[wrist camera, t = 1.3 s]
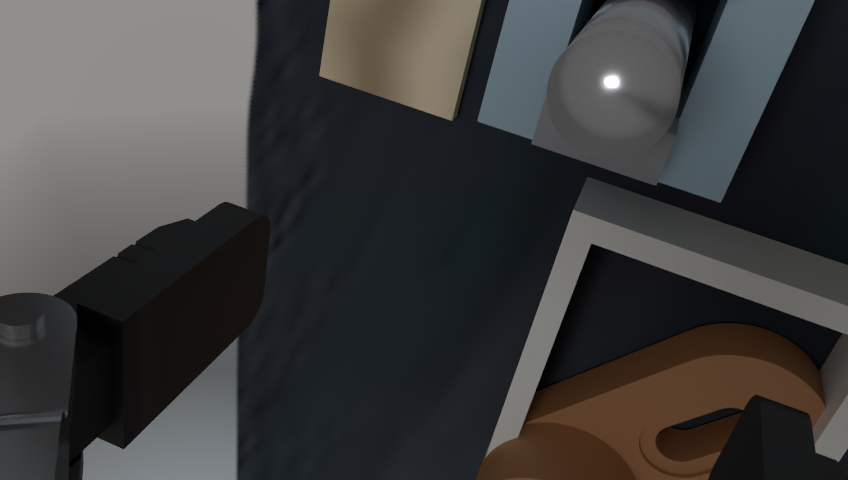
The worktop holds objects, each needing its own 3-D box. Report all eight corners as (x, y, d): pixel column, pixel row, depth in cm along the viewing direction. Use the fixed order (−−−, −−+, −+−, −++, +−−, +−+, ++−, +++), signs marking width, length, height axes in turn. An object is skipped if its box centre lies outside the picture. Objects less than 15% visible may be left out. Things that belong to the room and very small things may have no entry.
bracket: (546, 523, 46) (521, 621, 40) (467, 418, 45) (429, 504, 39) (857, 432, 37) (883, 541, 31) (771, 297, 36) (781, 384, 30)
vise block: (829, -80, 29) (855, -63, 23) (721, 159, 34) (720, 223, 28) (572, -147, 31) (536, -146, 25) (507, 89, 36) (463, 136, 30)
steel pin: (710, -18, 31) (700, 53, 20) (677, 67, 33) (651, 175, 22) (623, -42, 32) (568, 13, 21) (595, 43, 34) (531, 135, 23)
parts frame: (906, 285, 34) (926, 333, 30) (691, 618, 46) (688, 679, 42) (587, 176, 36) (573, 209, 33) (465, 518, 49) (445, 568, 45)
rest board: (505, -81, 33) (501, -79, 32) (457, 115, 37) (451, 120, 36) (355, -123, 34) (348, -122, 33) (326, 72, 38) (319, 76, 38)
